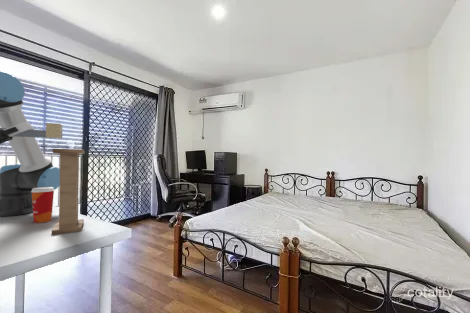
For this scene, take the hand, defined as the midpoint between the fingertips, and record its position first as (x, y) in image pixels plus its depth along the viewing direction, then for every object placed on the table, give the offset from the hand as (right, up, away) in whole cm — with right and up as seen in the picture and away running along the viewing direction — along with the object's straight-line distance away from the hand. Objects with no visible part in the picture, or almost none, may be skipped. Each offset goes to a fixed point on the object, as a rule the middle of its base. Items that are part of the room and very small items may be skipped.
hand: (30, 125), depth 79 cm
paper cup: (-9, -38, +15) cm, 42 cm away
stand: (+9, -38, +6) cm, 40 cm away
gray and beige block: (0, -4, 0) cm, 4 cm away
